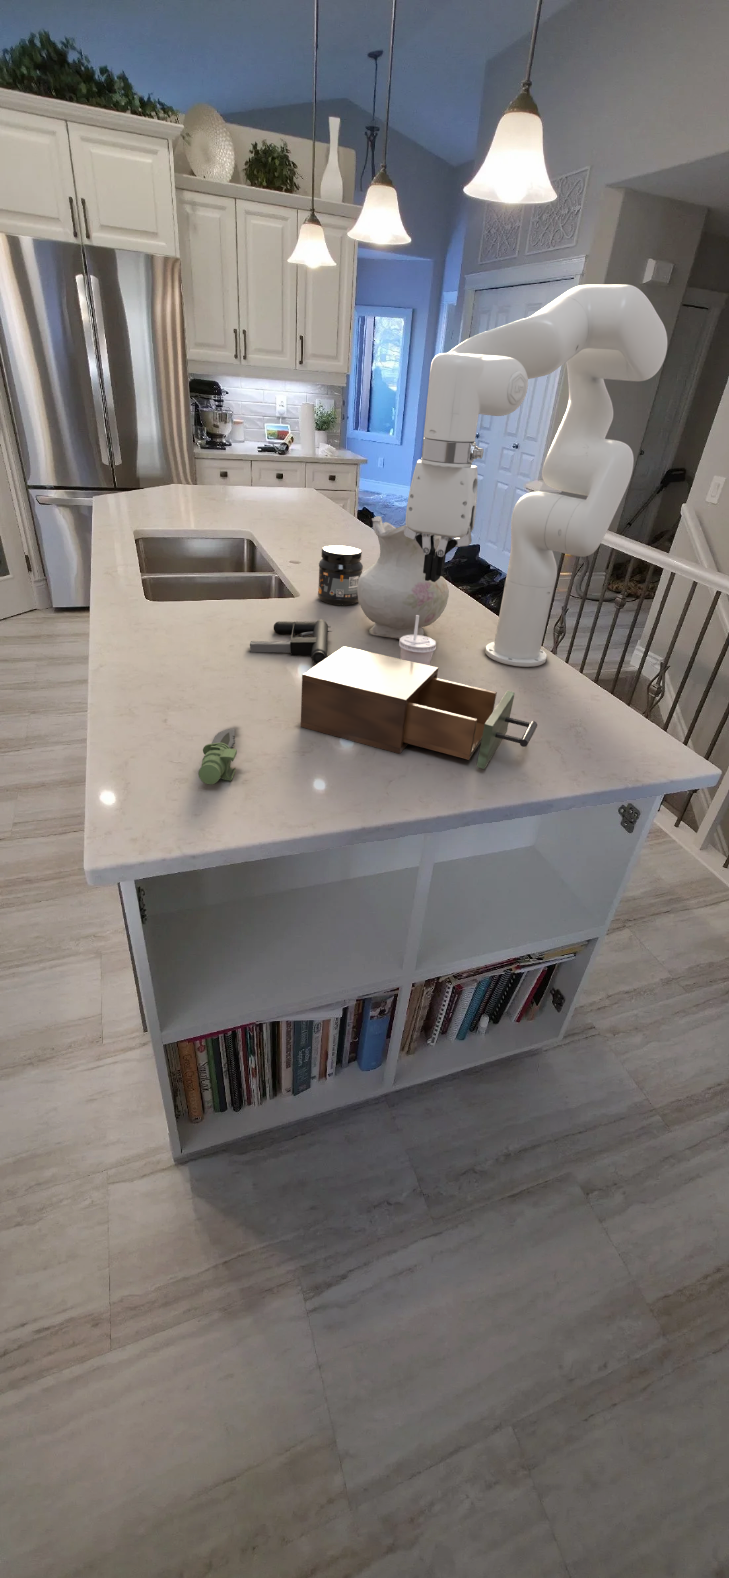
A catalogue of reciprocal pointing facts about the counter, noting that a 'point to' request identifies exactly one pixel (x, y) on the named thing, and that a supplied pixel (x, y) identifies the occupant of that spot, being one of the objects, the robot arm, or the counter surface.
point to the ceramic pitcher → (400, 586)
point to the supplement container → (339, 574)
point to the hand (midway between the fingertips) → (432, 579)
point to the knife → (218, 758)
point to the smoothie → (417, 647)
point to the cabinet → (362, 696)
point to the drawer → (461, 720)
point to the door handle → (298, 640)
